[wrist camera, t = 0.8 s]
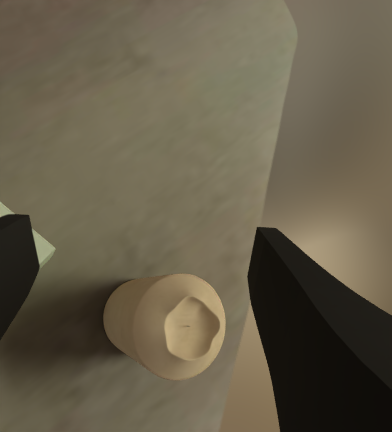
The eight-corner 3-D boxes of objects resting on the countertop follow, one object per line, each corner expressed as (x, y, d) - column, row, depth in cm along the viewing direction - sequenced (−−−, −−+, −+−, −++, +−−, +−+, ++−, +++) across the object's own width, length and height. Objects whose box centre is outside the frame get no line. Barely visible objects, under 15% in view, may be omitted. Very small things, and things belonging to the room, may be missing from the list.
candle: (103, 279, 24) (140, 272, 15) (170, 278, 27) (236, 271, 18) (100, 357, 23) (140, 397, 14) (172, 348, 25) (243, 378, 17)
